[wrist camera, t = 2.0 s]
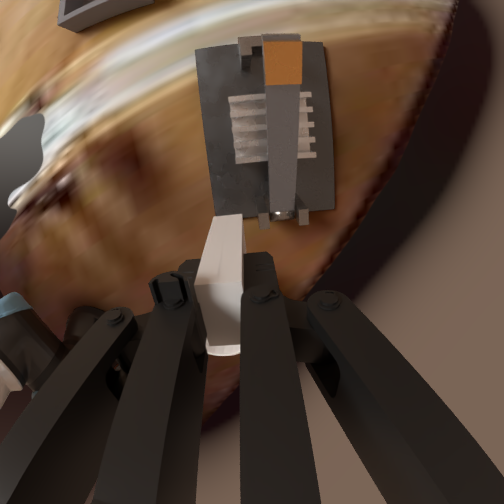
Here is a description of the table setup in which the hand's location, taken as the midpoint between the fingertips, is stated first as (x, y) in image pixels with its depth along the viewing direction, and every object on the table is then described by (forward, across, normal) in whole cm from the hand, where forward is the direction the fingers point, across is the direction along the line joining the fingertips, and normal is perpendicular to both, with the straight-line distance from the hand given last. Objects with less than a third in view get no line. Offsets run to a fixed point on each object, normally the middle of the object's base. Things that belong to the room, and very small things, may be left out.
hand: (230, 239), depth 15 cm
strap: (+15, +5, +4) cm, 16 cm away
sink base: (+26, +5, +6) cm, 27 cm away
